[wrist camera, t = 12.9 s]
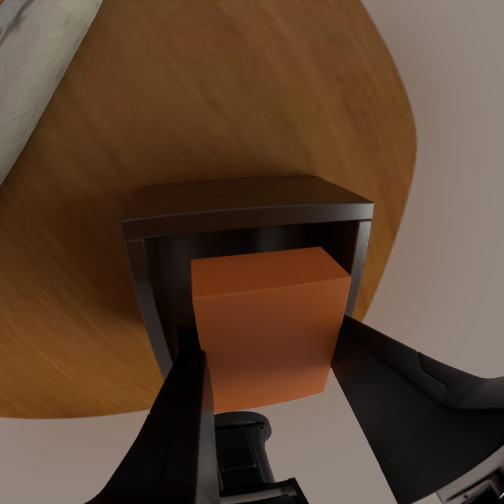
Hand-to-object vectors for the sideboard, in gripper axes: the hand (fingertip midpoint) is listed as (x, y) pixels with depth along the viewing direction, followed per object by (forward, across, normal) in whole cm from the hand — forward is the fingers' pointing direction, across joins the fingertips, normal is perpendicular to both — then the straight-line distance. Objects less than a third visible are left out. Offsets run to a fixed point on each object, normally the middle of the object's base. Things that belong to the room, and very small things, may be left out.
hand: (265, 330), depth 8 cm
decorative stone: (+5, +10, -10) cm, 15 cm away
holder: (+5, 0, 0) cm, 5 cm away
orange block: (+1, 0, 0) cm, 1 cm away
